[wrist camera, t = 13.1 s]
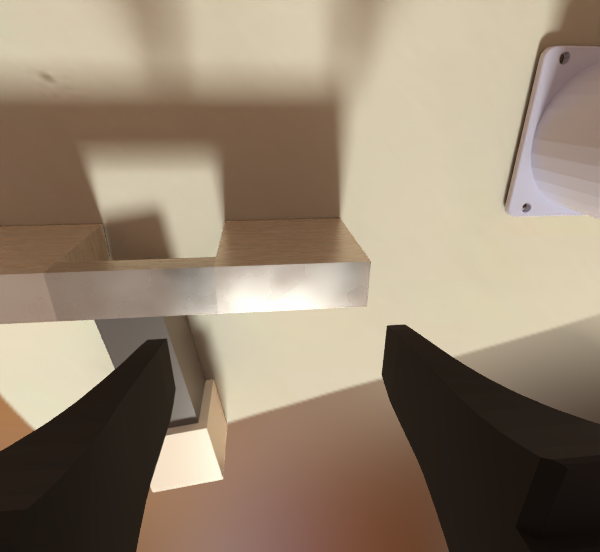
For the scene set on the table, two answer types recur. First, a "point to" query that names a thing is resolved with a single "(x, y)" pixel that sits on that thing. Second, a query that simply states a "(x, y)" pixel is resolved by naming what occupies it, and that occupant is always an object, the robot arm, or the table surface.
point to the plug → (177, 401)
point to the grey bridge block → (180, 273)
